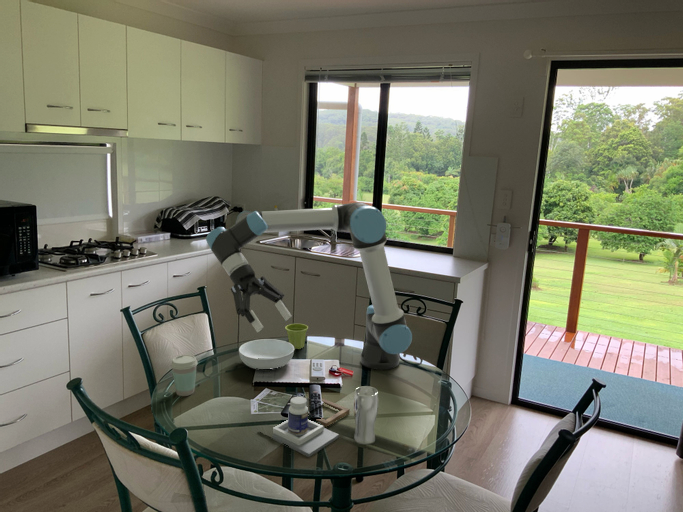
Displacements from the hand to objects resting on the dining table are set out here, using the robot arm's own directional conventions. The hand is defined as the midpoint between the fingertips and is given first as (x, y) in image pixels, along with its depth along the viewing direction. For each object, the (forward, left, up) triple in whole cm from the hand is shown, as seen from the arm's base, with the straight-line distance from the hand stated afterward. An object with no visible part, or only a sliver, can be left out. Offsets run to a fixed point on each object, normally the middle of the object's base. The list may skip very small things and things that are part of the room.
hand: (275, 324), depth 169 cm
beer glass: (-3, +34, -28) cm, 44 cm away
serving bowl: (-21, -25, -28) cm, 43 cm away
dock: (+8, +18, -28) cm, 34 cm away
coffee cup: (+13, -29, -28) cm, 43 cm away
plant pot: (-42, -29, -28) cm, 58 cm away
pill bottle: (+8, +18, -27) cm, 33 cm away
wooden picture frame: (-6, +16, -28) cm, 32 cm away
